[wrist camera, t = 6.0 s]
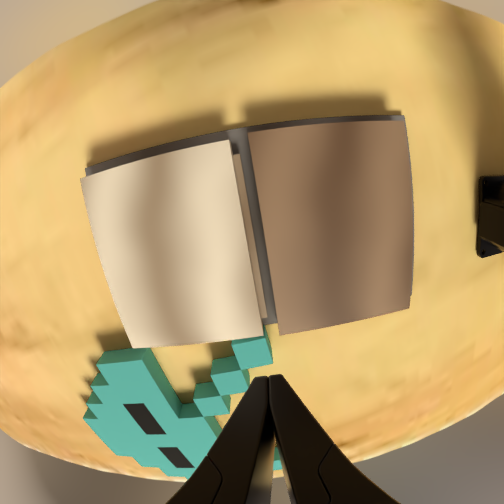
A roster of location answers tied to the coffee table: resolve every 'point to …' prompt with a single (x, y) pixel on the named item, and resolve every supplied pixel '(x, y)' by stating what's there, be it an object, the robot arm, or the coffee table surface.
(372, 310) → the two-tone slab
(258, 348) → the alien figure
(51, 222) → the coffee table surface
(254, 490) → the robot arm
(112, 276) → the beige rectangular slab
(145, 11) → the coffee table surface
